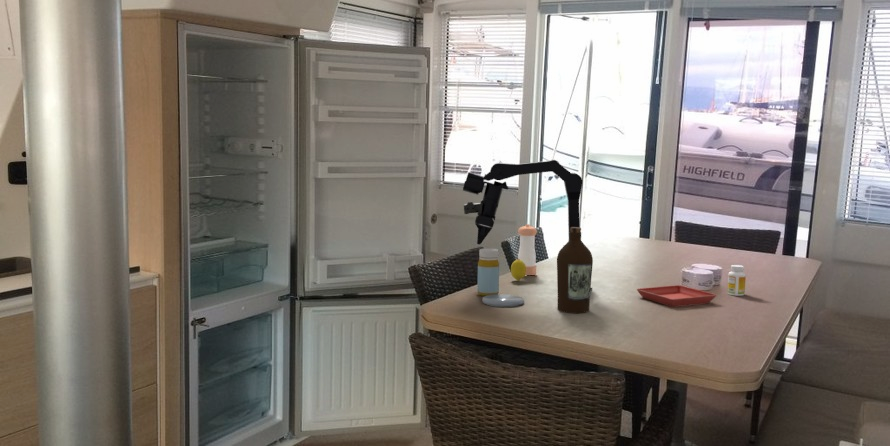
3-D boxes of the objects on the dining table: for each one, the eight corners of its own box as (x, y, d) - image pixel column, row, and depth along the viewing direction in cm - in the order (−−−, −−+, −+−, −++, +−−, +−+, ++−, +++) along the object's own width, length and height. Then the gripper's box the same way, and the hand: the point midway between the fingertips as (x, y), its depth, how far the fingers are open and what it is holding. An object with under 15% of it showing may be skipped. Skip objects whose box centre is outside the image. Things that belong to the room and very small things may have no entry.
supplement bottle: (744, 293, 255) (745, 265, 254) (744, 296, 250) (746, 267, 249) (727, 292, 257) (728, 264, 256) (727, 295, 252) (729, 266, 251)
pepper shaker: (514, 275, 284) (515, 224, 282) (519, 272, 290) (521, 222, 288) (533, 277, 281) (534, 225, 279) (538, 273, 288) (539, 223, 286)
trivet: (532, 302, 237) (532, 298, 237) (505, 309, 228) (505, 305, 228) (501, 296, 247) (501, 292, 246) (473, 302, 238) (474, 298, 237)
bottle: (476, 292, 252) (476, 248, 250) (496, 292, 252) (497, 248, 251) (478, 297, 245) (479, 251, 243) (500, 296, 246) (501, 251, 244)
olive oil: (550, 306, 232) (552, 225, 229) (582, 305, 235) (585, 225, 232) (563, 314, 222) (565, 230, 219) (596, 313, 224) (599, 229, 221)
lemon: (525, 282, 270) (525, 260, 269) (509, 281, 271) (510, 259, 270) (526, 279, 275) (527, 258, 274) (511, 279, 276) (511, 257, 275)
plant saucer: (634, 298, 248) (635, 288, 248) (678, 294, 255) (679, 284, 255) (671, 309, 231) (672, 299, 231) (717, 305, 239) (718, 294, 238)
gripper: (470, 190, 268) (458, 232, 270) (466, 194, 250) (454, 239, 252) (500, 199, 267) (488, 241, 269) (499, 203, 249) (486, 248, 251)
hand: (479, 242), depth 260 cm, fingers open, 9 cm apart
